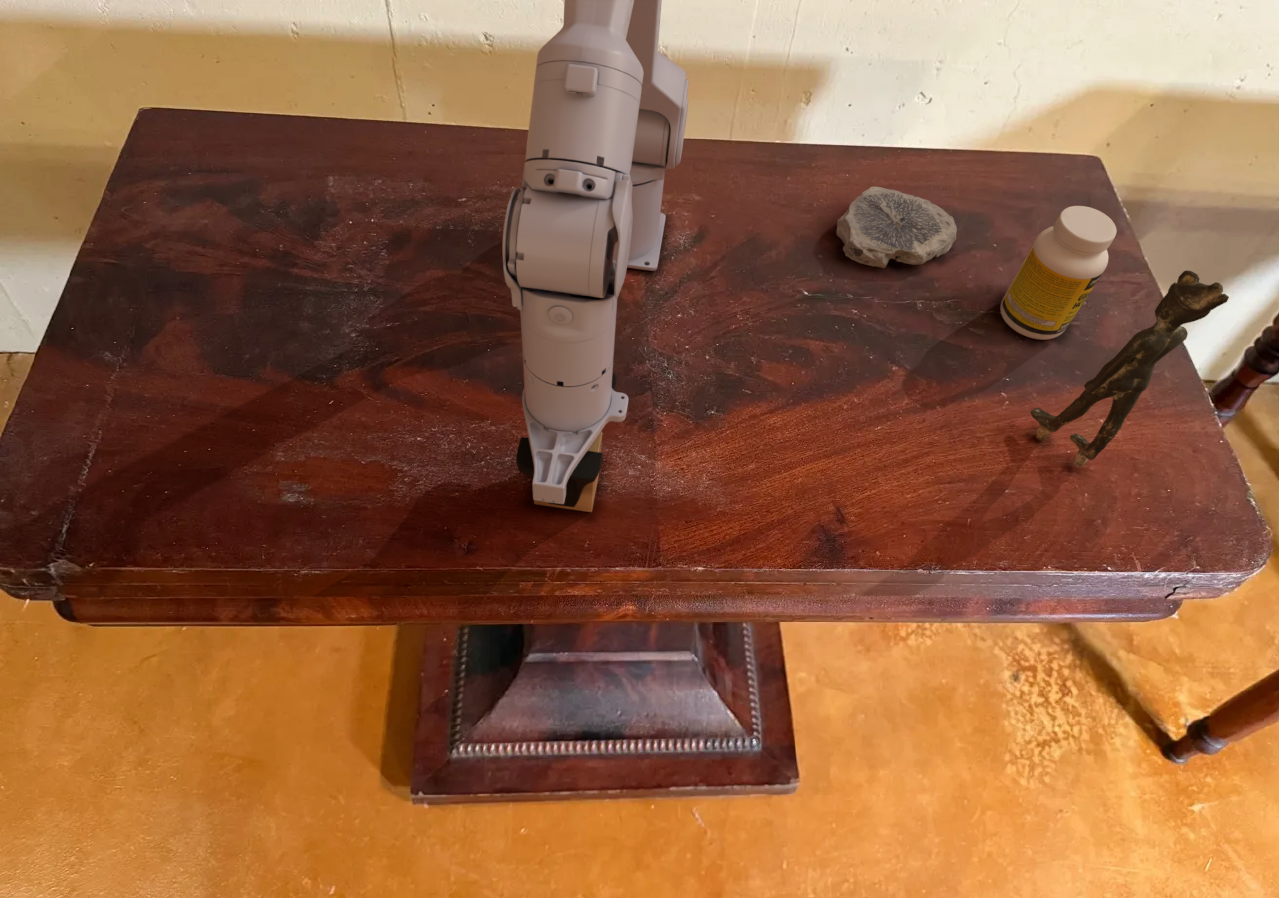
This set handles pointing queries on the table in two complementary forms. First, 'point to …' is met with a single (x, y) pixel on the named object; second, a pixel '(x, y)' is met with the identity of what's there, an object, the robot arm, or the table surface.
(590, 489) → the block
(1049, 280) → the pill bottle
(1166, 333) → the statue
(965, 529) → the table surface
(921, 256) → the fossil
